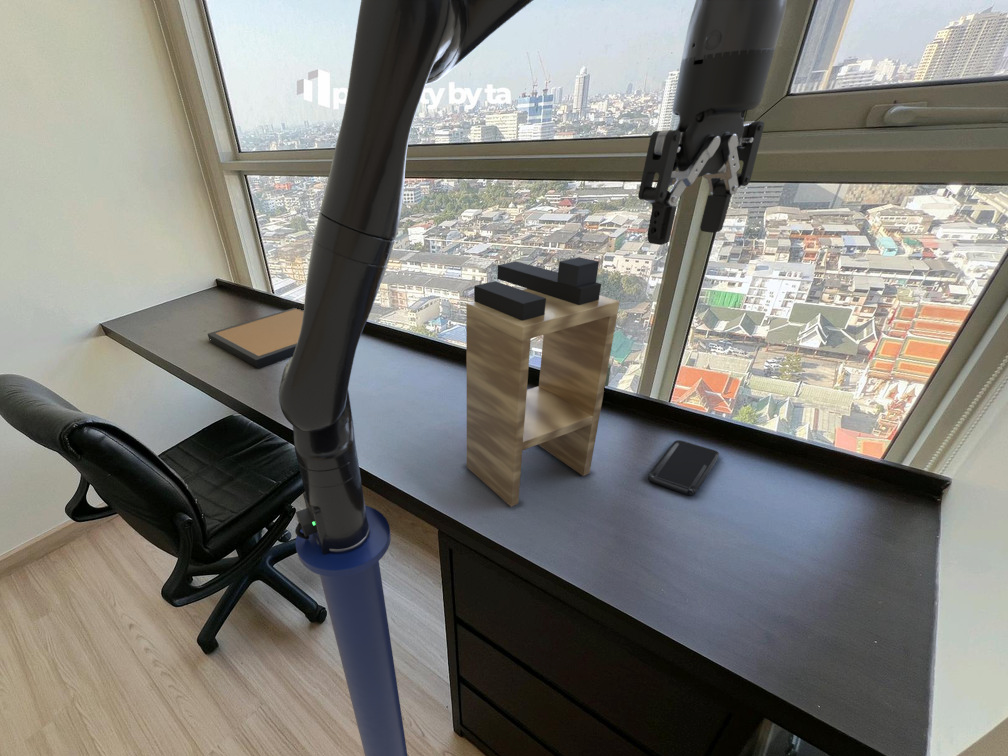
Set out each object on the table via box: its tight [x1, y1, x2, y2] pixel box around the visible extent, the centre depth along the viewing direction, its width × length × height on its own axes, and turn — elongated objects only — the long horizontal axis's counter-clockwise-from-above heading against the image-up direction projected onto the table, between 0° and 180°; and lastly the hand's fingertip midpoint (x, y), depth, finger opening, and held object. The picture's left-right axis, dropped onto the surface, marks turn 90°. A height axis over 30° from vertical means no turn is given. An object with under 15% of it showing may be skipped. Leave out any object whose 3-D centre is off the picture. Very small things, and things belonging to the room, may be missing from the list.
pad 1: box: [473, 280, 546, 321], centre depth 72 cm, size 4×12×2 cm, turn 27°
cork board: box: [207, 307, 304, 370], centre depth 161 cm, size 36×3×35 cm
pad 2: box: [497, 256, 602, 305], centre depth 78 cm, size 4×20×5 cm, turn 28°
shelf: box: [465, 288, 620, 507], centre depth 82 cm, size 18×14×32 cm
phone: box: [648, 439, 720, 496], centre depth 88 cm, size 8×1×15 cm
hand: (684, 237), depth 54 cm, fingers open, 8 cm apart
